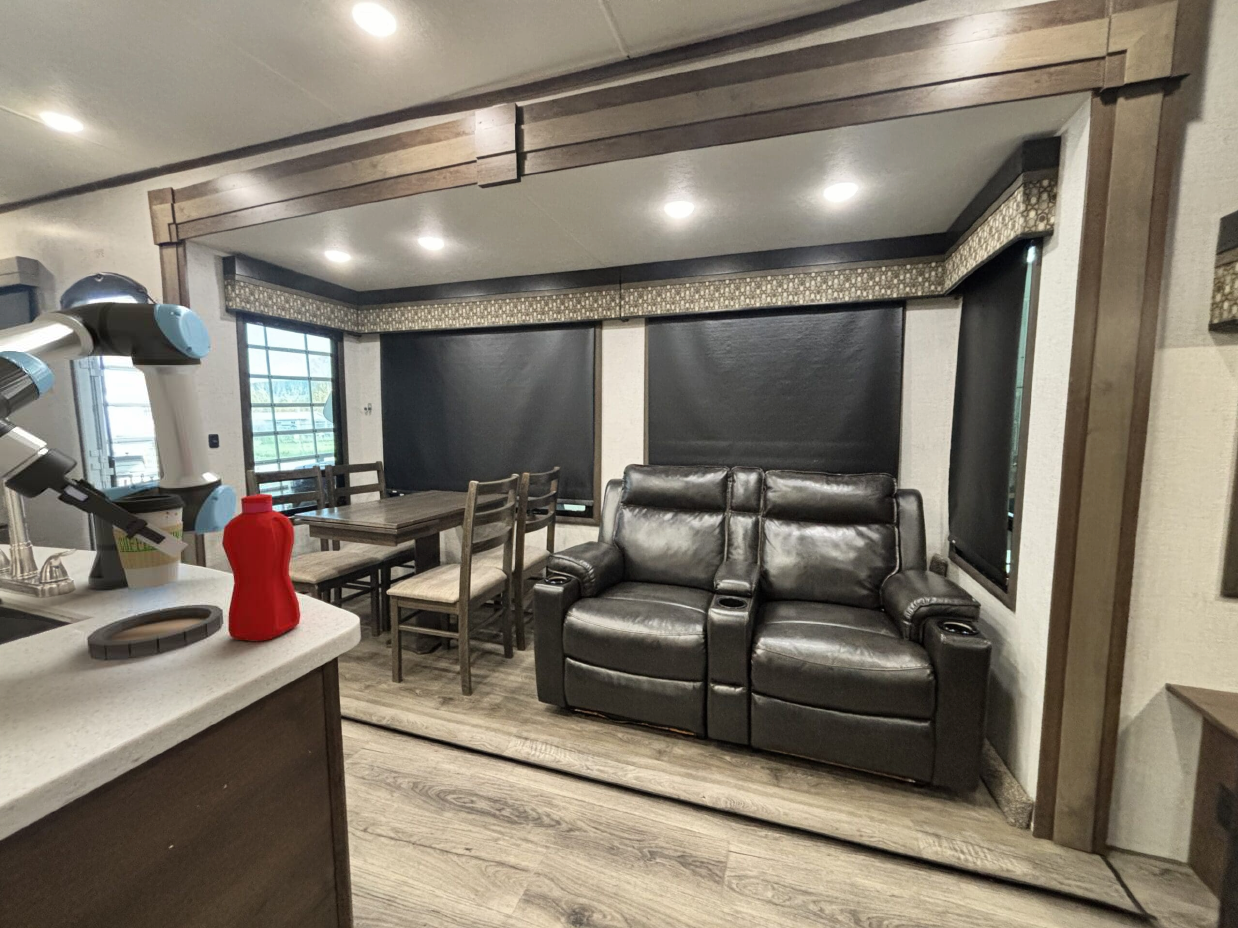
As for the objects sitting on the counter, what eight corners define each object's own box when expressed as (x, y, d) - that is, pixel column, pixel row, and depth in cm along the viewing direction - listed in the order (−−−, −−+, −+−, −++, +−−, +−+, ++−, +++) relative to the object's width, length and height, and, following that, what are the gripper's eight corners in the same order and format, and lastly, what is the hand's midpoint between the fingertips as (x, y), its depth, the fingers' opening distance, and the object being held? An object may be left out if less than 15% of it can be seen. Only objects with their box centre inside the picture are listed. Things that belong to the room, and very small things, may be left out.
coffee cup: (143, 594, 79) (135, 503, 78) (97, 590, 81) (88, 501, 80) (205, 576, 88) (199, 494, 87) (163, 573, 90) (156, 493, 89)
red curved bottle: (259, 619, 93) (250, 490, 91) (309, 623, 91) (300, 491, 89) (211, 640, 84) (199, 498, 82) (265, 645, 82) (254, 499, 80)
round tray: (112, 629, 89) (111, 616, 89) (230, 610, 97) (229, 598, 97) (69, 670, 74) (67, 654, 74) (212, 643, 83) (211, 629, 83)
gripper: (2, 478, 78) (145, 553, 92) (-4, 489, 64) (167, 576, 78) (49, 444, 82) (180, 521, 95) (53, 447, 68) (207, 537, 81)
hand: (174, 546), depth 87 cm, fingers closed on coffee cup, 10 cm apart
